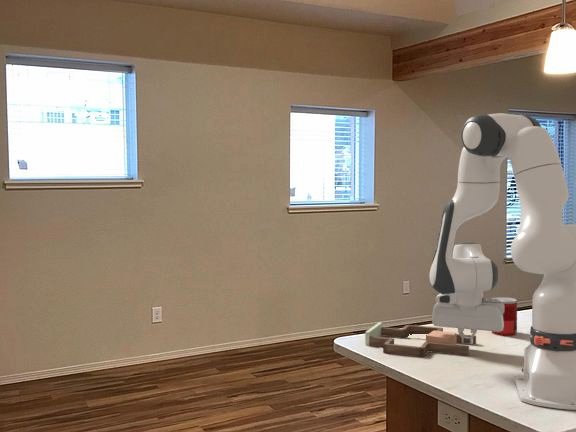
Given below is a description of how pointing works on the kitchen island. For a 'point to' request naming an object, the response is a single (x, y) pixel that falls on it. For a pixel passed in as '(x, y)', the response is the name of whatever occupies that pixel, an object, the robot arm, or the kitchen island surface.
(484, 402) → the kitchen island surface
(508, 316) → the canned food
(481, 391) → the kitchen island surface
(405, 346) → the box
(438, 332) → the block
